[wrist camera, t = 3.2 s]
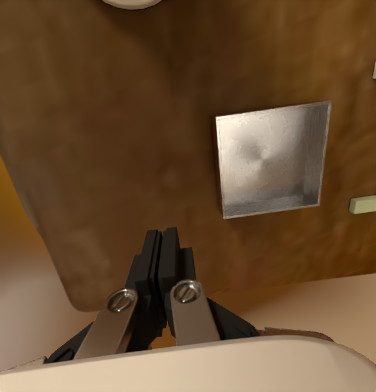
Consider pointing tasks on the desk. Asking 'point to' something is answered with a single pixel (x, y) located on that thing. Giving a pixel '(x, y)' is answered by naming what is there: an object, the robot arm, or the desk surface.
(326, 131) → the baking pan
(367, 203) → the bracket
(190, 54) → the desk surface
